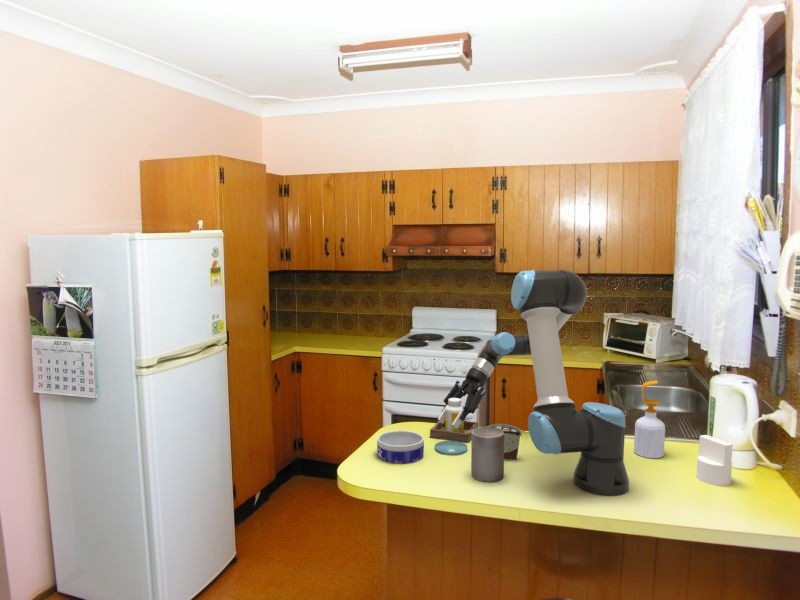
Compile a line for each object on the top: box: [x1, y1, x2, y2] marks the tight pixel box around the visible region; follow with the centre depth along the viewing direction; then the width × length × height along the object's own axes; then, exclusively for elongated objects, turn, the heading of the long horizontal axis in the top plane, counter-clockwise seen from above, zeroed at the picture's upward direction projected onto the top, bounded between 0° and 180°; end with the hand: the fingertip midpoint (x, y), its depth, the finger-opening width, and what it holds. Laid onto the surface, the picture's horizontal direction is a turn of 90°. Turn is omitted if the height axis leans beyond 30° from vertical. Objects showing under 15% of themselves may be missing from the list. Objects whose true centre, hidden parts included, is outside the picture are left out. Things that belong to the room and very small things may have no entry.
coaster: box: [434, 440, 468, 456], centre depth 194 cm, size 11×11×1 cm
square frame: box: [429, 420, 479, 444], centre depth 209 cm, size 14×14×3 cm
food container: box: [487, 423, 523, 461], centre depth 188 cm, size 12×6×10 cm, turn 84°
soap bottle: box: [633, 379, 666, 459], centre depth 189 cm, size 9×9×25 cm
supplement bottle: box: [444, 398, 465, 433], centre depth 208 cm, size 7×7×13 cm
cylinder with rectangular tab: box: [695, 434, 733, 487], centre depth 170 cm, size 9×9×12 cm
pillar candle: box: [470, 425, 505, 483], centre depth 172 cm, size 10×10×15 cm
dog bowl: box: [376, 430, 425, 465], centre depth 189 cm, size 15×15×6 cm
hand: (447, 424), depth 206 cm, fingers closed on supplement bottle, 7 cm apart
